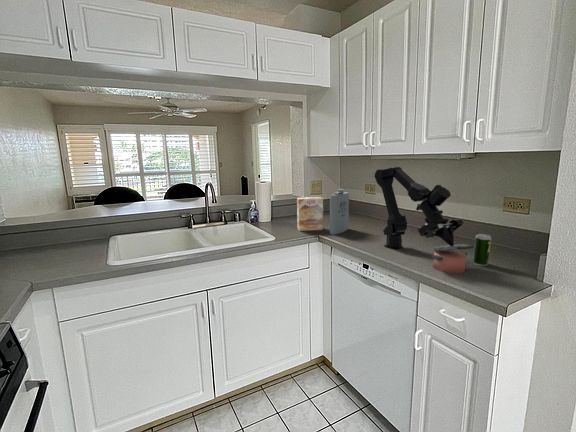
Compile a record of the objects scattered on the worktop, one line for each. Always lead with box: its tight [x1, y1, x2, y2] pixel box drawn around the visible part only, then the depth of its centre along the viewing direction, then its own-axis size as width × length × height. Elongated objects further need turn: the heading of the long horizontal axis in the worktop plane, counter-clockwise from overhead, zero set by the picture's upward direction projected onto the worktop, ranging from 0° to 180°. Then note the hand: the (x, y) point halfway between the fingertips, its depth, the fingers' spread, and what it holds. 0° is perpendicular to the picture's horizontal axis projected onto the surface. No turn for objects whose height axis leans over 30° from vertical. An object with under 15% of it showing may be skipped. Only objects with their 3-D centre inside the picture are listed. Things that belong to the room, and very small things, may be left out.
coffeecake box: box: [296, 196, 324, 232], centre depth 189 cm, size 15×7×20 cm, turn 97°
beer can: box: [472, 233, 492, 267], centre depth 124 cm, size 5×5×12 cm
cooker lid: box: [433, 244, 474, 251], centre depth 119 cm, size 14×11×1 cm
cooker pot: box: [431, 250, 468, 274], centre depth 122 cm, size 12×15×6 cm
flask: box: [329, 188, 350, 235], centre depth 181 cm, size 17×5×25 cm, turn 141°
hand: (452, 245), depth 119 cm, fingers closed
